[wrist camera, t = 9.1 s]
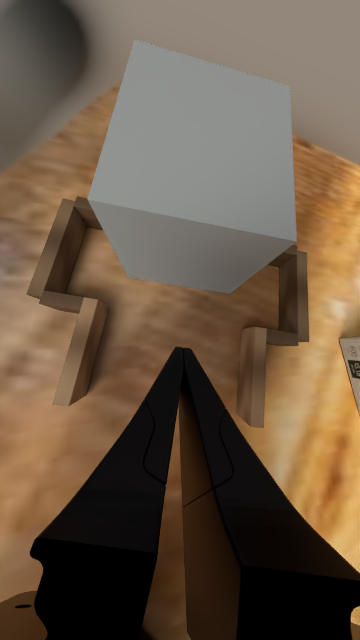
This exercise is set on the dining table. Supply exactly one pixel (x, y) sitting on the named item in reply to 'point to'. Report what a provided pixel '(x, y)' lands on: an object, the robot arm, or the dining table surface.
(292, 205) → the block
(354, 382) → the light bulb box
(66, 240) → the lane
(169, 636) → the dining table surface
